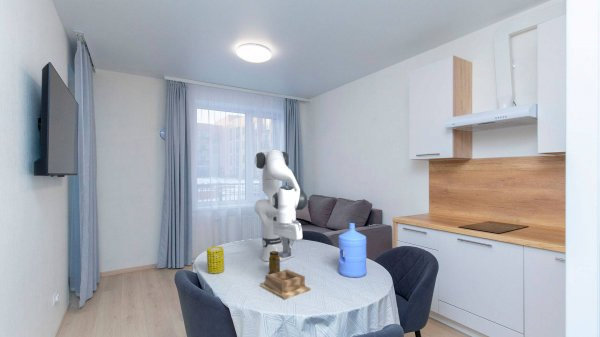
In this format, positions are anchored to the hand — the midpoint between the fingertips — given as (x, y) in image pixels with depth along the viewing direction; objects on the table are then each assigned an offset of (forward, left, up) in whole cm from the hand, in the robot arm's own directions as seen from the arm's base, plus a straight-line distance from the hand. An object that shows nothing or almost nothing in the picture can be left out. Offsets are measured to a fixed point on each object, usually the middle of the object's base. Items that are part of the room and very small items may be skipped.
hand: (287, 246), depth 145 cm
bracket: (+2, 0, -5) cm, 5 cm away
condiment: (-7, -20, -21) cm, 29 cm away
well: (+1, 0, -20) cm, 20 cm away
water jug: (-41, +8, -21) cm, 46 cm away
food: (+17, -45, -21) cm, 52 cm away
